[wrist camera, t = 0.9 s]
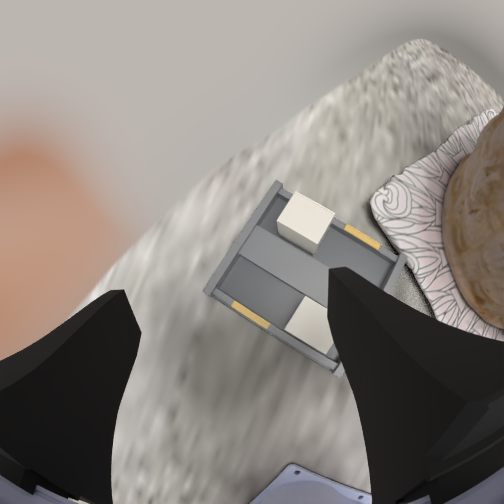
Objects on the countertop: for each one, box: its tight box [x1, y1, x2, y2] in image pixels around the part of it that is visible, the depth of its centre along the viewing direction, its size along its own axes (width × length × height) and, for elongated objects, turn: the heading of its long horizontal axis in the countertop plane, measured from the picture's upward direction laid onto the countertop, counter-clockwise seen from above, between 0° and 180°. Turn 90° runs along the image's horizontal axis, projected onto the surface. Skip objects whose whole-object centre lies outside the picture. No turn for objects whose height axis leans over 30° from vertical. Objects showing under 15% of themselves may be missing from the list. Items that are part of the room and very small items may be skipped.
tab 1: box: [277, 191, 335, 256], centre depth 19 cm, size 3×2×4 cm
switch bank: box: [203, 180, 408, 378], centre depth 20 cm, size 12×10×2 cm
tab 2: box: [284, 296, 334, 354], centre depth 18 cm, size 3×2×4 cm
